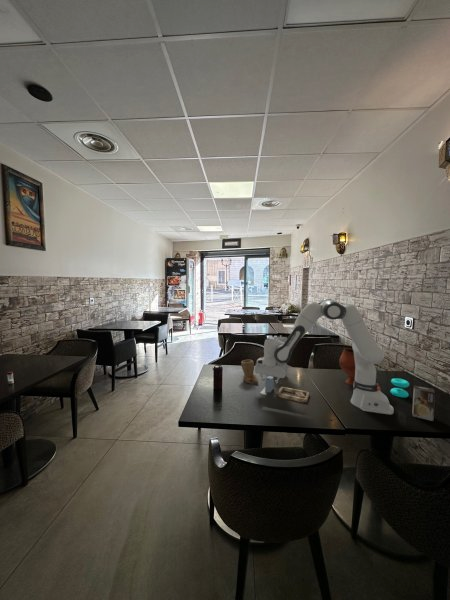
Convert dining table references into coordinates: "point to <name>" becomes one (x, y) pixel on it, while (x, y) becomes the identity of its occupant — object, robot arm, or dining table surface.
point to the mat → (263, 392)
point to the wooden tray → (292, 396)
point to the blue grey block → (269, 384)
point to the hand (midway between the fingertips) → (269, 381)
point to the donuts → (398, 391)
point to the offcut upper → (299, 394)
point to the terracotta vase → (348, 364)
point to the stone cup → (249, 371)
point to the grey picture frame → (423, 403)
